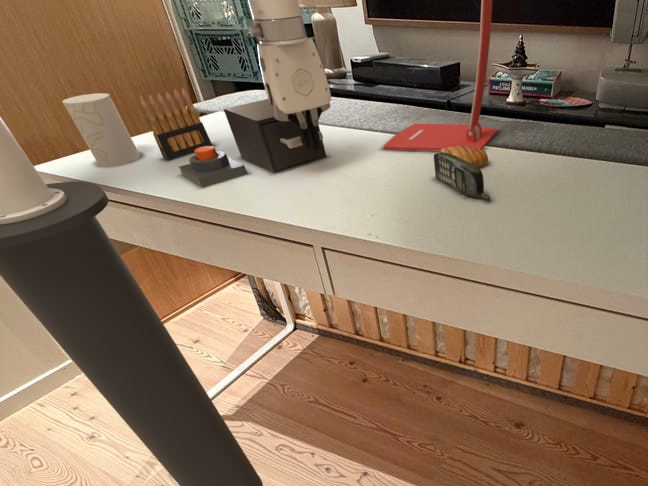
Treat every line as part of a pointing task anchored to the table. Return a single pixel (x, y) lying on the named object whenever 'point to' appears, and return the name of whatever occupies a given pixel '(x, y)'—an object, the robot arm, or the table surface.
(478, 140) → the desk lamp
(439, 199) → the table surface
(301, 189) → the table surface
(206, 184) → the control block
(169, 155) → the ammunition clip
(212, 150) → the button
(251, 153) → the cabinet
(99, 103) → the white patterned cylinder
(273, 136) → the drawer
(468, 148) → the pastry
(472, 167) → the mobile phone
